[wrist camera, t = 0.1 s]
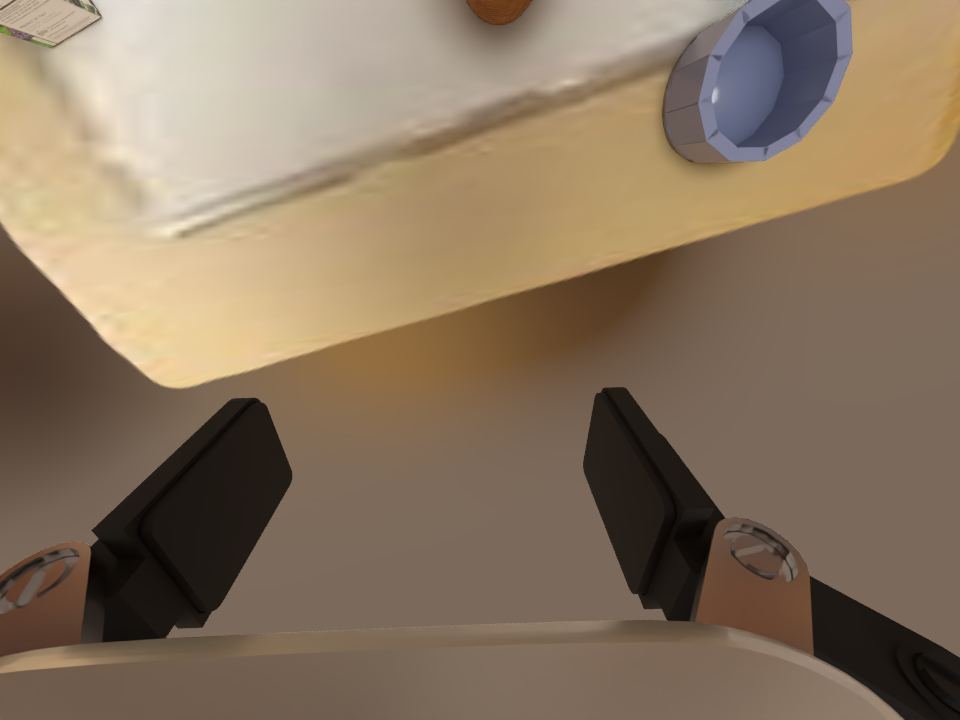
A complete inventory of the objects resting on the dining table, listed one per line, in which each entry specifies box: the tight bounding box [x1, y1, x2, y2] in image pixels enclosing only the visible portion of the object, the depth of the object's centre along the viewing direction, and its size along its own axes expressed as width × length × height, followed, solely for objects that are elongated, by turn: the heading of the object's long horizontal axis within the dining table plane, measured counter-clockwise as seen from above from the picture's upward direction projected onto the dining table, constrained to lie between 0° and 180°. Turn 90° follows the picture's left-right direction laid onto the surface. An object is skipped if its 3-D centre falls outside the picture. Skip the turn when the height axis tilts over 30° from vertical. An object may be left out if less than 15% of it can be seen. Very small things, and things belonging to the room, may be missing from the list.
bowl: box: [663, 0, 853, 163], centre depth 29 cm, size 11×11×6 cm
